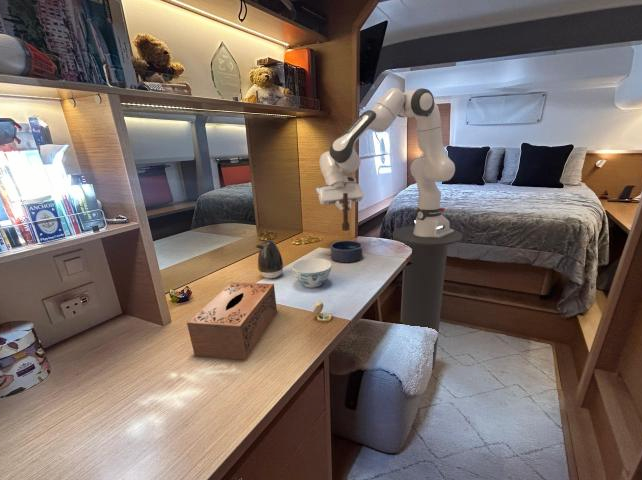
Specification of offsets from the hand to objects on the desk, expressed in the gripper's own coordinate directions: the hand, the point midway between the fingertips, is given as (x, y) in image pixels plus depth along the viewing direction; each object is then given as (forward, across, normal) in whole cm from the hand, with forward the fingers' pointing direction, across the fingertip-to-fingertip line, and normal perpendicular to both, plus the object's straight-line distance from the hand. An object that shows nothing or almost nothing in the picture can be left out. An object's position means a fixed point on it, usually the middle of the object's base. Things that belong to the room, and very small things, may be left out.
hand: (346, 210), depth 147 cm
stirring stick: (+6, 0, +7) cm, 9 cm away
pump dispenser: (+20, -37, +12) cm, 43 cm away
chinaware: (+30, -24, +1) cm, 39 cm away
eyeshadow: (+49, -31, -17) cm, 60 cm away
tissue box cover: (+46, -56, -15) cm, 74 cm away
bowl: (+16, 0, +15) cm, 22 cm away
